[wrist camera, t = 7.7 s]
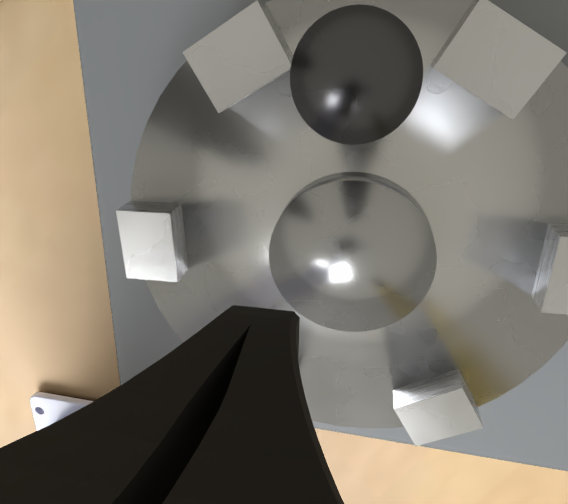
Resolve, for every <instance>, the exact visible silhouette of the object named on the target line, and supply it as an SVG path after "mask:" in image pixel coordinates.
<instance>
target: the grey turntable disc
mask: <svg viewBox="0 0 568 504" xmlns="http://www.w3.org/2000/svg"><path fill="white" fill-rule="evenodd" d="M182 53H183V54H184V56H185V58H186V59H187V61H186V62H185V63H184V64H183V65H182V66H181V67H180V68H179V69H178V71H177V72H176V74H175V75H174V77H173V78H172V79H171V81H170V82H169V84H168V85H167V87H166V88H165V90H164V91H163V92H162V94H161V95H160V97H159V99H158V101H157V103H156V105H155V107H154V109H153V111H152V113H151V115H150V117H149V119H148V121H147V123H146V126H145V129H144V132H143V135H142V138H141V141H140V144H139V147H138V150H137V155H136V160H135V165H134V171H133V176H132V187H131V201H129V202H128V203H126V204H125V205H123V206H122V207H120V208H119V209H117V210H116V214H117V220H118V227H119V233H120V239H121V245H122V252H123V258H124V264H125V270H126V277H127V278H133V279H145V280H146V283H147V286H148V288H149V290H150V292H151V294H152V296H153V298H154V300H155V302H156V304H157V306H158V308H159V309H160V311H161V312H162V314H163V316H164V317H165V319H166V320H167V322H168V323H169V325H170V327H171V328H172V329H173V331H174V332H175V333H176V334H177V335H178V337H179V338H180V339H181V340H182V342H185V341H186V340H187V339H189V338H190V337H191V336H193V335H194V334H195V333H197V332H198V331H199V330H201V329H202V328H203V327H205V326H206V325H207V324H209V323H210V322H211V321H212V320H214V319H215V318H216V317H218V316H219V315H220V314H221V313H223V312H224V311H225V310H227V309H228V308H230V307H231V306H232V305H237V306H247V307H257V308H267V309H276V310H286V311H294V312H295V313H296V314H297V315H298V316H299V317H300V324H299V355H298V363H299V369H300V374H301V380H302V385H303V389H304V393H305V397H306V401H307V405H308V408H309V412H310V416H311V419H312V421H315V422H320V423H326V424H331V425H337V426H344V427H357V428H396V427H405V429H406V431H407V432H408V434H409V436H410V437H411V439H412V441H413V442H414V444H415V446H419V445H422V444H426V443H430V442H434V441H437V440H441V439H445V438H448V437H452V436H456V435H460V434H463V433H467V432H471V431H475V430H478V429H482V428H483V424H482V420H481V417H480V413H479V409H478V407H479V406H481V405H483V404H485V403H488V402H490V401H492V400H494V399H496V398H498V397H500V396H501V395H503V394H505V393H506V392H508V391H509V390H511V389H513V388H514V387H516V386H518V385H519V384H521V383H522V382H524V381H525V380H526V379H527V378H529V377H530V376H531V375H532V374H534V373H535V372H536V371H538V370H539V369H540V368H541V367H543V366H544V365H545V364H546V363H547V362H548V361H549V360H550V359H551V358H552V357H553V356H554V355H555V354H556V353H557V352H558V351H559V350H560V349H561V348H562V347H563V346H564V345H565V343H566V342H567V341H568V68H567V66H566V65H565V64H564V63H563V62H562V61H561V59H562V58H563V57H564V56H565V54H566V53H567V52H565V51H564V50H562V49H561V48H559V47H558V46H556V45H555V44H553V43H552V42H550V41H549V40H547V39H546V38H544V37H543V36H541V35H540V34H538V33H537V32H535V31H534V30H532V29H531V28H529V27H528V26H526V25H525V24H523V23H522V22H520V21H519V20H517V19H516V18H514V17H513V16H511V15H509V14H508V13H506V12H505V11H503V10H502V9H500V8H499V7H497V6H496V5H494V4H493V3H491V2H490V1H488V0H271V1H269V2H262V1H258V0H257V1H255V2H254V3H252V4H251V5H250V6H248V7H247V8H245V9H244V10H242V11H241V12H239V13H238V14H237V15H235V16H234V17H232V18H231V19H229V20H228V21H227V22H225V23H224V24H222V25H221V26H219V27H218V28H217V29H215V30H214V31H212V32H211V33H209V34H208V35H206V36H205V37H204V38H202V39H201V40H199V41H198V42H196V43H195V44H194V45H192V46H191V47H189V48H188V49H186V50H185V51H184V52H182Z"/></svg>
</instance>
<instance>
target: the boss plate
mask: <svg viewBox="0 0 568 504" xmlns="http://www.w3.org/2000/svg"><path fill="white" fill-rule="evenodd" d="M255 1H257V0H73V2H74V10H75V19H76V27H77V35H78V43H79V51H80V59H81V67H82V76H83V84H84V92H85V100H86V108H87V116H88V124H89V132H90V141H91V149H92V157H93V165H94V173H95V181H96V189H97V197H98V206H99V214H100V222H101V230H102V238H103V246H104V254H105V263H106V271H107V279H108V287H109V295H110V303H111V311H112V319H113V328H114V336H115V344H116V352H117V360H118V368H119V376H120V385H122V384H124V383H125V382H127V381H128V380H130V379H131V378H133V377H134V376H136V375H137V374H139V373H140V372H142V371H143V370H145V369H146V368H148V367H149V366H151V365H152V364H154V363H155V362H157V361H158V360H160V359H161V358H163V357H164V356H166V355H167V354H169V353H170V352H171V351H173V350H174V349H175V348H177V347H178V346H179V345H181V344H182V343H183V342H182V340H181V339H180V338H179V337H178V335H177V334H176V333H175V332H174V331H173V329H172V328H171V327H170V325H169V323H168V322H167V320H166V319H165V317H164V316H163V314H162V312H161V311H160V309H159V308H158V306H157V304H156V302H155V300H154V298H153V296H152V294H151V292H150V290H149V288H148V286H147V283H146V280H145V279H133V278H127V277H126V270H125V264H124V258H123V252H122V245H121V239H120V233H119V227H118V220H117V214H116V210H117V209H119V208H120V207H122V206H123V205H125V204H126V203H128V202H129V201H131V187H132V176H133V171H134V165H135V160H136V155H137V150H138V147H139V144H140V141H141V138H142V135H143V132H144V129H145V126H146V123H147V121H148V119H149V117H150V115H151V113H152V111H153V109H154V107H155V105H156V103H157V101H158V99H159V97H160V95H161V94H162V92H163V91H164V90H165V88H166V87H167V85H168V84H169V82H170V81H171V79H172V78H173V77H174V75H175V74H176V72H177V71H178V69H179V68H180V67H181V66H182V65H183V64H184V63H185V62H186V61H187V59H186V58H185V56H184V54H183V53H182V52H184V51H185V50H186V49H188V48H189V47H191V46H192V45H194V44H195V43H196V42H198V41H199V40H201V39H202V38H204V37H205V36H206V35H208V34H209V33H211V32H212V31H214V30H215V29H217V28H218V27H219V26H221V25H222V24H224V23H225V22H227V21H228V20H229V19H231V18H232V17H234V16H235V15H237V14H238V13H239V12H241V11H242V10H244V9H245V8H247V7H248V6H250V5H251V4H252V3H254V2H255ZM258 1H262V2H269V1H271V0H258ZM488 1H490V2H491V3H493V4H494V5H496V6H497V7H499V8H500V9H502V10H503V11H505V12H506V13H508V14H509V15H511V16H513V17H514V18H516V19H517V20H519V21H520V22H522V23H523V24H525V25H526V26H528V27H529V28H531V29H532V30H534V31H535V32H537V33H538V34H540V35H541V36H543V37H544V38H546V39H547V40H549V41H550V42H552V43H553V44H555V45H556V46H558V47H559V48H561V49H562V50H564V51H565V52H567V53H566V54H565V56H564V57H563V58H562V59H561V61H562V62H563V63H564V64H565V65H566V66H567V68H568V0H488ZM478 409H479V413H480V417H481V420H482V424H483V428H482V429H478V430H475V431H471V432H467V433H463V434H460V435H456V436H452V437H448V438H445V439H441V440H437V441H434V442H430V443H426V444H422V445H419V446H423V447H429V448H435V449H440V450H446V451H452V452H458V453H464V454H470V455H476V456H481V457H487V458H493V459H499V460H505V461H511V462H517V463H522V464H528V465H534V466H540V467H546V468H552V469H558V470H564V471H568V341H567V342H566V343H565V345H564V346H563V347H562V348H561V349H560V350H559V351H558V352H557V353H556V354H555V355H554V356H553V357H552V358H551V359H550V360H549V361H548V362H547V363H546V364H545V365H544V366H543V367H541V368H540V369H539V370H538V371H536V372H535V373H534V374H532V375H531V376H530V377H529V378H527V379H526V380H525V381H524V382H522V383H521V384H519V385H518V386H516V387H514V388H513V389H511V390H509V391H508V392H506V393H505V394H503V395H501V396H500V397H498V398H496V399H494V400H492V401H490V402H488V403H485V404H483V405H481V406H479V407H478ZM312 422H313V425H314V428H317V429H323V430H329V431H335V432H341V433H347V434H353V435H358V436H364V437H370V438H376V439H382V440H388V441H394V442H399V443H405V444H411V445H415V444H414V442H413V441H412V439H411V437H410V436H409V434H408V432H407V431H406V429H405V427H396V428H357V427H344V426H337V425H331V424H326V423H320V422H315V421H312Z"/></svg>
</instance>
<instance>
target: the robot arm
mask: <svg viewBox="0 0 568 504" xmlns="http://www.w3.org/2000/svg"><path fill="white" fill-rule="evenodd" d="M299 324H300V317H299V316H298V315H297V314H296V313H295V312H294V311H286V310H276V309H267V308H257V307H247V306H237V305H232V306H231V307H230V308H228V309H227V310H225V311H224V312H223V313H221V314H220V315H219V316H218V317H216V318H215V319H214V320H212V321H211V322H210V323H209V324H207V325H206V326H205V327H203V328H202V329H201V330H199V331H198V332H197V333H195V334H194V335H193V336H191V337H190V338H189V339H187V340H186V341H185V342H183V343H182V344H181V345H179V346H178V347H177V348H175V349H174V350H173V351H171V352H170V353H169V354H167V355H166V356H164V357H163V358H161V359H160V360H158V361H157V362H155V363H154V364H152V365H151V366H149V367H148V368H146V369H145V370H143V371H142V372H140V373H139V374H137V375H136V376H134V377H133V378H131V379H130V380H128V381H127V382H125V383H124V384H122V385H121V386H119V387H117V388H116V389H114V390H112V391H111V392H109V393H107V394H106V395H104V396H102V397H101V398H99V399H97V400H95V401H90V400H84V399H78V398H73V397H67V396H61V395H55V394H50V393H44V392H36V393H34V395H33V396H32V397H31V398H30V404H31V408H32V412H33V417H34V421H35V426H36V430H37V431H36V432H34V433H32V434H30V435H27V436H25V437H23V438H21V439H19V440H17V441H14V442H12V443H10V444H8V445H6V446H4V447H2V448H0V504H344V502H343V500H342V498H341V496H340V494H339V491H338V489H337V487H336V484H335V482H334V479H333V477H332V475H331V472H330V470H329V467H328V465H327V462H326V460H325V457H324V454H323V451H322V449H321V446H320V443H319V441H318V438H317V435H316V432H315V429H314V425H313V422H312V419H311V416H310V412H309V408H308V405H307V401H306V397H305V393H304V389H303V385H302V380H301V374H300V369H299V363H298V355H299Z"/></svg>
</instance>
